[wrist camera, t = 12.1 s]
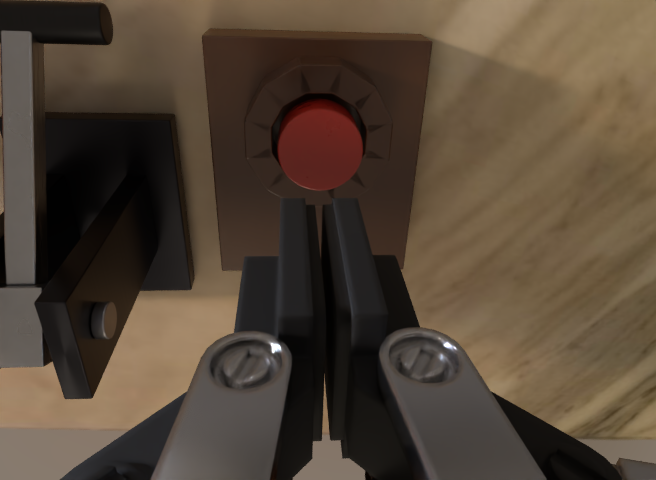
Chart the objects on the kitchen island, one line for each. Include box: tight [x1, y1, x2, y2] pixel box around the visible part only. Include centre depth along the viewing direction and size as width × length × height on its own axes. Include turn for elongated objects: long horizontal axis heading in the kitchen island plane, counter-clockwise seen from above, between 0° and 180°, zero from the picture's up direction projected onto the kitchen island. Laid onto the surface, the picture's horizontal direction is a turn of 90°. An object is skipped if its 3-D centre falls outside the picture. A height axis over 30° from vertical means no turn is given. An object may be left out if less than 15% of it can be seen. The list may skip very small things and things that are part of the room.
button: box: [277, 99, 363, 191], centre depth 22 cm, size 4×4×2 cm
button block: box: [202, 29, 432, 271], centre depth 25 cm, size 12×10×4 cm
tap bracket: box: [0, 112, 194, 399], centre depth 22 cm, size 10×8×12 cm
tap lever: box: [0, 0, 113, 368], centre depth 19 cm, size 13×6×2 cm, turn 179°
